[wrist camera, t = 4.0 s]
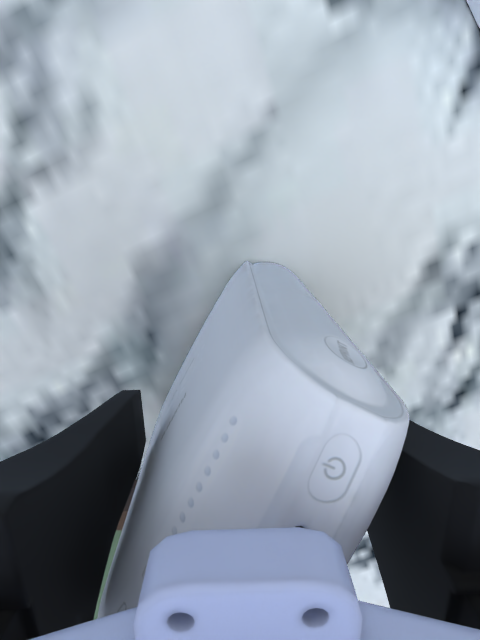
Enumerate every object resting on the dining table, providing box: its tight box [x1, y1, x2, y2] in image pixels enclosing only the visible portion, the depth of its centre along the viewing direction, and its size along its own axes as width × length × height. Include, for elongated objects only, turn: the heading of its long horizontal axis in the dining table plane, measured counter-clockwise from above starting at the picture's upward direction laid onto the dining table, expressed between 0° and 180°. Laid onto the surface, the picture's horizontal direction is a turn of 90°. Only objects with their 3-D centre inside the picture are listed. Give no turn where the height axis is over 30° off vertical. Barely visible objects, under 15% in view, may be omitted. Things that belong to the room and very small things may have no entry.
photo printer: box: [97, 261, 409, 619], centre depth 13 cm, size 10×4×12 cm, turn 152°
